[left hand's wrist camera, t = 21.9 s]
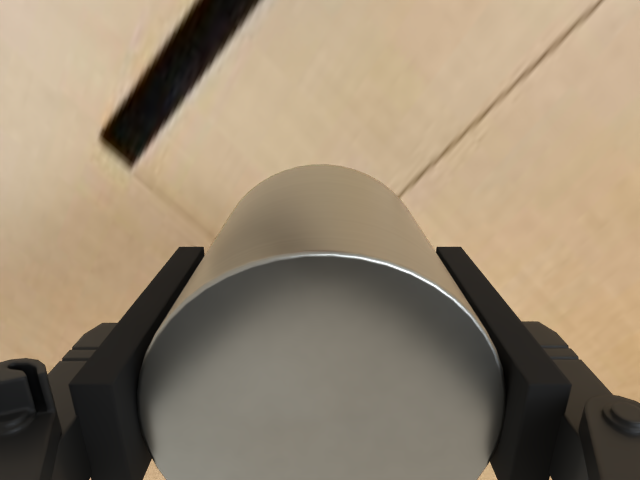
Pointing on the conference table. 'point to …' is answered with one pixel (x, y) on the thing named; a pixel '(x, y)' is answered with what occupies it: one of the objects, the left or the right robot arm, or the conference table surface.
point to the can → (321, 347)
